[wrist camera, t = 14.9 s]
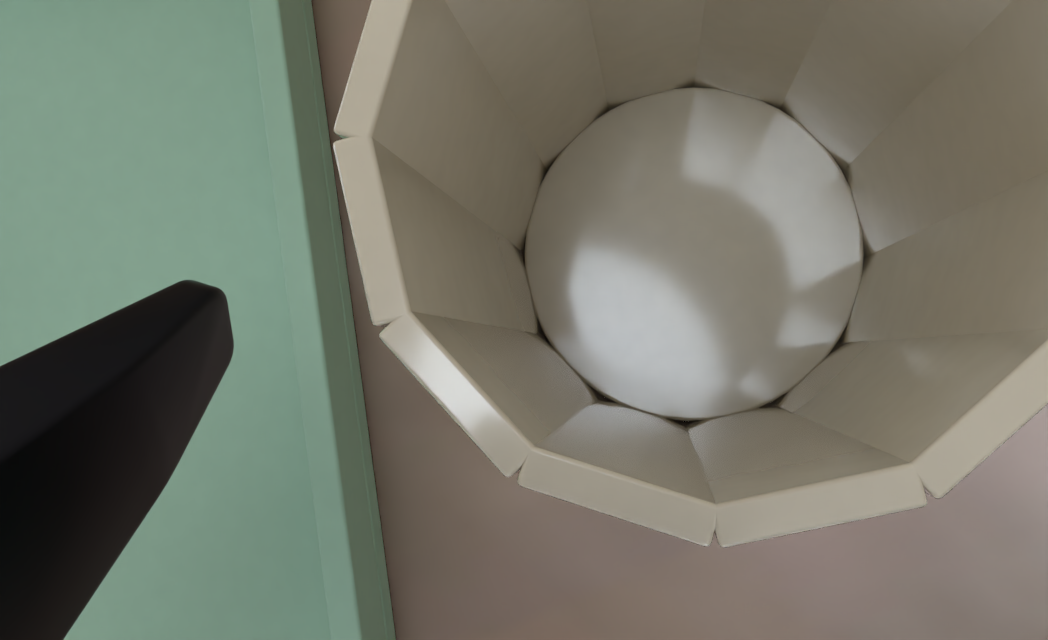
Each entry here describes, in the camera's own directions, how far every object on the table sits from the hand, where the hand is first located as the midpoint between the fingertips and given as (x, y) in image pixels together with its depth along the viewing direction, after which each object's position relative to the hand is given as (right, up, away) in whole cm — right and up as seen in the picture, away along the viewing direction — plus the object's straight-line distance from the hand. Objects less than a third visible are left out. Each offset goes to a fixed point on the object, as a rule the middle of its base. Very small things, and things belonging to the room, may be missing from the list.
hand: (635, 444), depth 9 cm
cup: (+2, +3, +10) cm, 10 cm away
